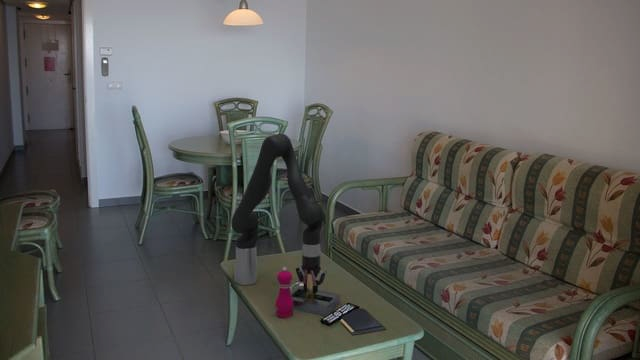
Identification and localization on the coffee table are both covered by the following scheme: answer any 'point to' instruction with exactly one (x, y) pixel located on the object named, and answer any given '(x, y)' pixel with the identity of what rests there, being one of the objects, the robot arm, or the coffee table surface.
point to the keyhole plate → (315, 301)
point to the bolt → (310, 288)
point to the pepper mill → (284, 294)
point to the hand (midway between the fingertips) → (310, 292)
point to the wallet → (361, 322)
